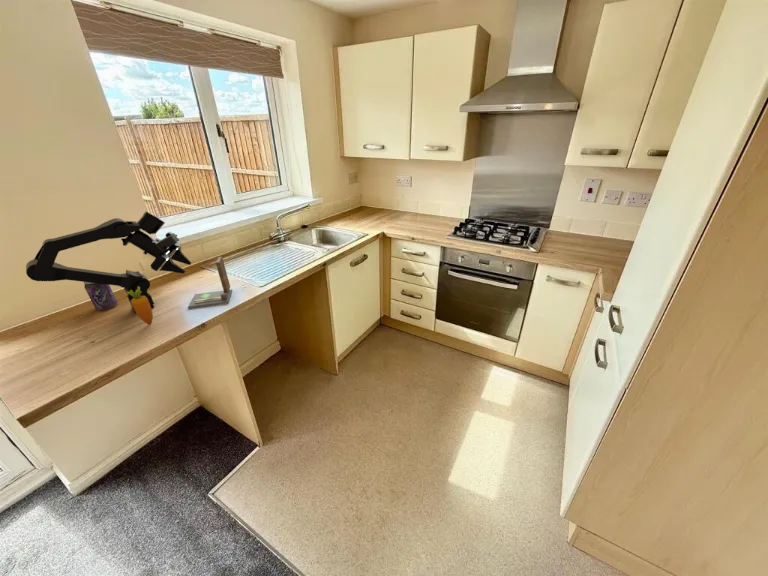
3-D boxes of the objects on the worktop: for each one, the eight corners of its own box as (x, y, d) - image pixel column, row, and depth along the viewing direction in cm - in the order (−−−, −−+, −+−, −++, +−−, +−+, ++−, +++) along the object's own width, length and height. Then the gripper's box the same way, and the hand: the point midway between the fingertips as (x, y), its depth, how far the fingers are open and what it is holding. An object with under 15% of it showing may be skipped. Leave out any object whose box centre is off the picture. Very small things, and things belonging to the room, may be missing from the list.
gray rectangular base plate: (188, 308, 125) (187, 306, 124) (195, 296, 134) (194, 293, 133) (228, 303, 128) (227, 300, 127) (232, 291, 137) (231, 289, 136)
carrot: (141, 330, 112) (123, 293, 105) (142, 323, 116) (126, 287, 109) (157, 326, 114) (141, 289, 107) (158, 319, 118) (143, 283, 111)
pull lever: (194, 303, 126) (183, 271, 119) (200, 290, 135) (190, 260, 129) (227, 298, 128) (218, 267, 122) (231, 286, 138) (223, 256, 131)
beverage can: (92, 312, 124) (77, 285, 118) (101, 303, 130) (88, 277, 124) (113, 309, 125) (100, 282, 120) (121, 301, 131) (109, 274, 126)
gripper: (150, 235, 110) (193, 261, 118) (167, 221, 126) (205, 246, 134) (132, 258, 112) (176, 283, 119) (151, 242, 128) (189, 265, 135)
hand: (187, 268), depth 127 cm, fingers open, 9 cm apart
